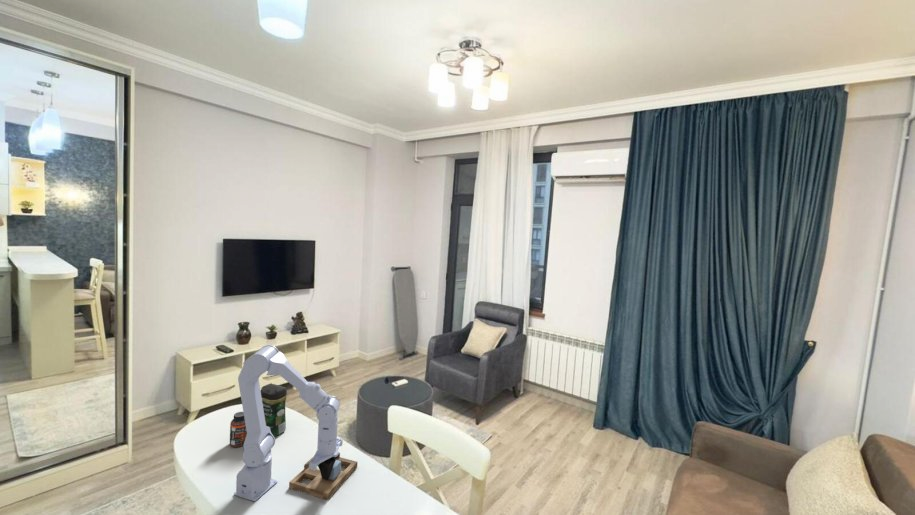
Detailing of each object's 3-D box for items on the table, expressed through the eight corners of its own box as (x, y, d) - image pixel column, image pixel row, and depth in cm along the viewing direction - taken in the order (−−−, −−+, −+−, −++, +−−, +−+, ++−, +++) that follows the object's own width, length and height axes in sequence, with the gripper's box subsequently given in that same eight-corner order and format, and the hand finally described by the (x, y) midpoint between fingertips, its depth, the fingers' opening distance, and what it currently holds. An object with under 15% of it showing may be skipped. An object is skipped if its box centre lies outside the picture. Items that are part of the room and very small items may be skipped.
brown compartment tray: (327, 499, 116) (328, 488, 116) (288, 488, 120) (289, 477, 120) (357, 467, 132) (357, 457, 132) (322, 457, 136) (322, 448, 136)
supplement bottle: (233, 450, 137) (234, 419, 136) (226, 443, 141) (227, 414, 140) (251, 443, 142) (251, 414, 141) (243, 437, 146) (244, 408, 145)
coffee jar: (254, 432, 149) (256, 386, 147) (271, 423, 156) (273, 379, 155) (272, 439, 145) (274, 392, 144) (289, 430, 152) (291, 385, 151)
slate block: (333, 480, 122) (334, 468, 122) (322, 477, 123) (323, 465, 123) (340, 472, 126) (341, 461, 126) (330, 469, 127) (330, 458, 127)
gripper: (324, 452, 112) (322, 496, 113) (351, 428, 126) (349, 467, 127) (303, 447, 114) (302, 490, 115) (332, 424, 128) (330, 462, 129)
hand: (325, 478), depth 121 cm, fingers closed
